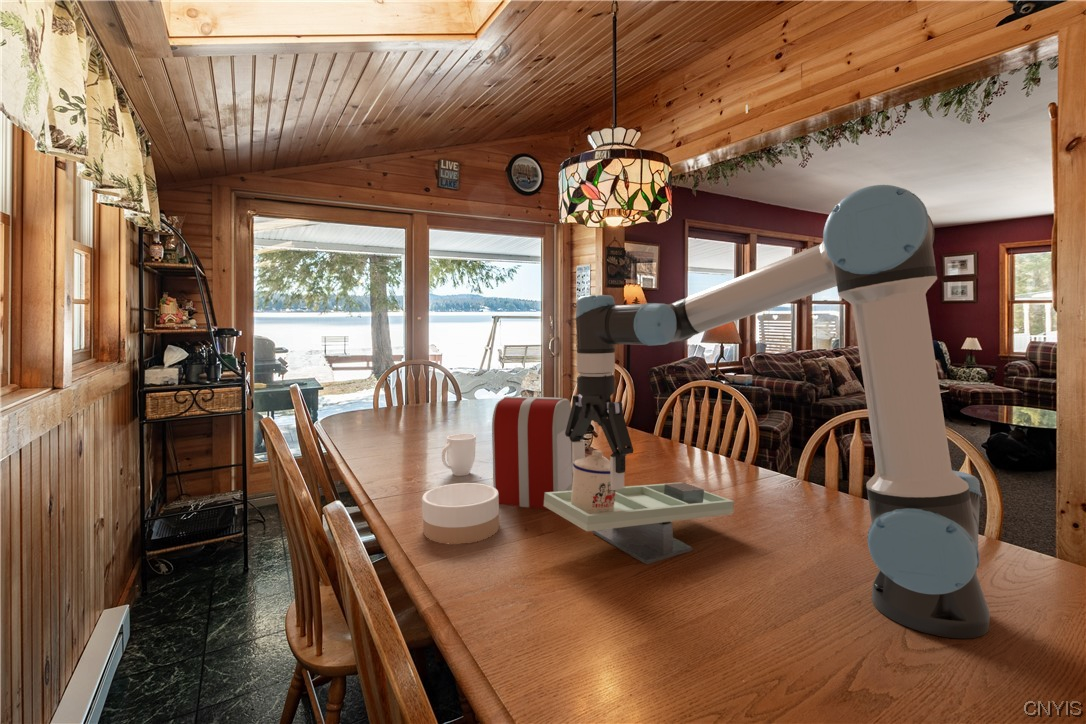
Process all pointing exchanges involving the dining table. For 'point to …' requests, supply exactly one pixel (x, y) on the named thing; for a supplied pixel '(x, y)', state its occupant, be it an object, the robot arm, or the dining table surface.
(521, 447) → the red striped block
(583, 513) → the divided tray
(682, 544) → the fulcrum
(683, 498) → the block
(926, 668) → the dining table surface
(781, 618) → the dining table surface
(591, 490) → the teacup with lid
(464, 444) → the mug
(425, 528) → the bowl
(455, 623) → the dining table surface
